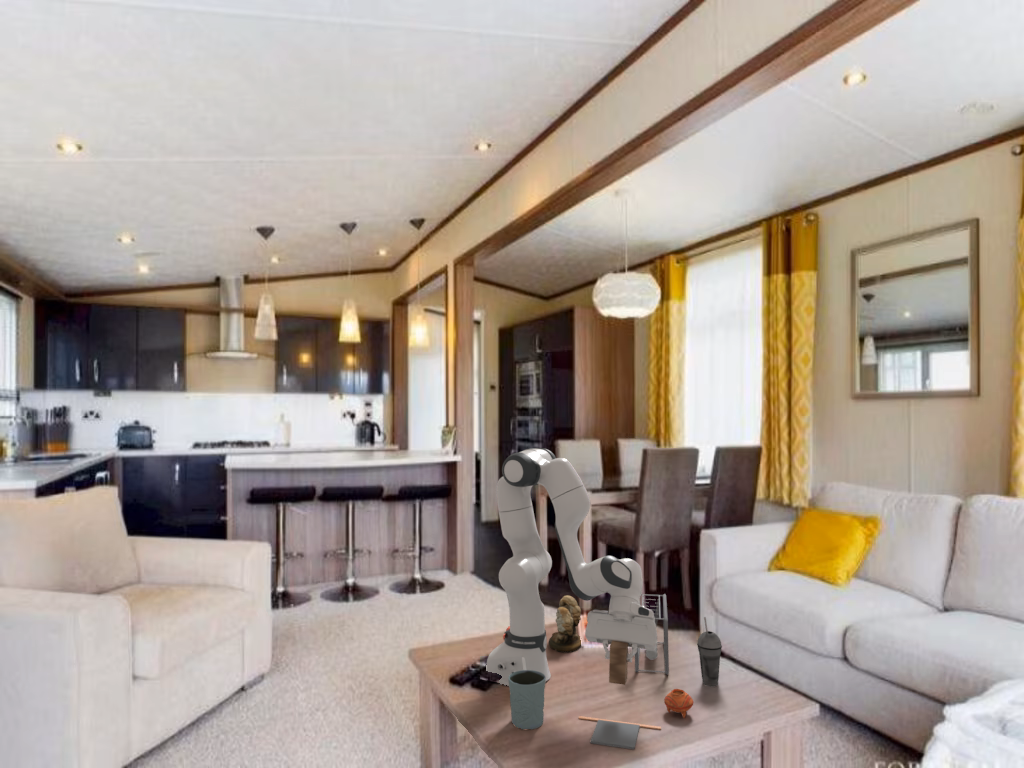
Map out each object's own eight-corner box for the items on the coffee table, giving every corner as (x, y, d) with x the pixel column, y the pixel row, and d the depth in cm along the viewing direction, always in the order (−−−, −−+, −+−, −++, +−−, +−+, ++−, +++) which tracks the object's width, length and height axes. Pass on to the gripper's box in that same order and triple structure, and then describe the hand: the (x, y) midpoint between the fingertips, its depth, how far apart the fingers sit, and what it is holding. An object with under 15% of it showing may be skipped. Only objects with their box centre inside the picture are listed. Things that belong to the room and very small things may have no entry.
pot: (701, 716, 180) (696, 693, 179) (676, 727, 178) (671, 703, 177) (686, 702, 187) (681, 680, 187) (662, 712, 185) (657, 690, 185)
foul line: (578, 718, 180) (578, 717, 180) (579, 717, 181) (579, 715, 181) (660, 729, 173) (660, 728, 173) (661, 727, 174) (661, 726, 174)
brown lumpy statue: (550, 634, 245) (549, 588, 246) (581, 635, 244) (581, 588, 245) (547, 652, 228) (547, 602, 228) (582, 653, 226) (581, 603, 227)
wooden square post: (609, 682, 181) (609, 645, 181) (611, 675, 185) (612, 640, 185) (625, 684, 180) (625, 648, 180) (627, 678, 184) (628, 642, 184)
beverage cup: (724, 689, 197) (722, 621, 197) (698, 687, 198) (697, 620, 199) (721, 679, 204) (720, 614, 204) (697, 677, 205) (695, 612, 206)
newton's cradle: (637, 640, 238) (636, 591, 238) (667, 642, 235) (666, 592, 236) (634, 674, 208) (633, 618, 209) (668, 677, 206) (667, 620, 207)
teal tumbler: (510, 731, 173) (509, 685, 174) (507, 713, 184) (507, 670, 184) (548, 729, 174) (547, 684, 174) (543, 711, 184) (543, 668, 185)
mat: (590, 743, 167) (590, 740, 167) (598, 721, 178) (598, 719, 178) (634, 749, 164) (634, 747, 164) (639, 727, 175) (639, 725, 175)
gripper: (587, 603, 192) (579, 649, 183) (658, 612, 186) (654, 660, 177) (589, 613, 197) (582, 659, 187) (659, 622, 191) (656, 670, 181)
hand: (618, 659), depth 182 cm, fingers closed on wooden square post, 4 cm apart
